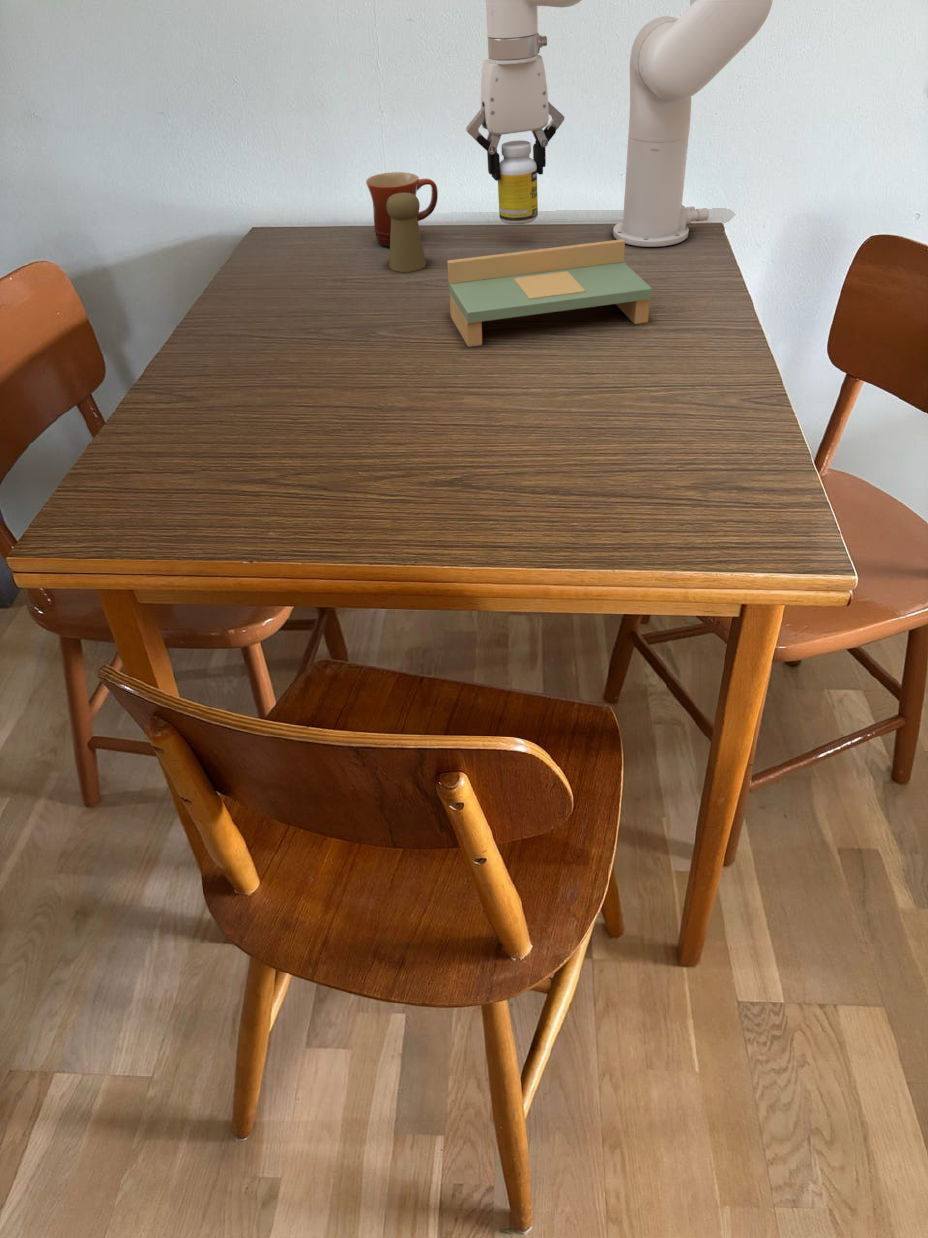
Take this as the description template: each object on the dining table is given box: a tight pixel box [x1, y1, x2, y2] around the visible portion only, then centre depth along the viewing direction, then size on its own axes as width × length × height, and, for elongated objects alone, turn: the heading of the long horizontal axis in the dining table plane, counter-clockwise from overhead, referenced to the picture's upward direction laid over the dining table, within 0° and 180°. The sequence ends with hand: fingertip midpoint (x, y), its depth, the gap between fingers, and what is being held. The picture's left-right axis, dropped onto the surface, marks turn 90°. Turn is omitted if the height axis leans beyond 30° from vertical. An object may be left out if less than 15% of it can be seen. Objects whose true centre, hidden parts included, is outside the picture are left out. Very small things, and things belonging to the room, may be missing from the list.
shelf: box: [446, 239, 653, 348], centre depth 134 cm, size 26×12×8 cm, turn 103°
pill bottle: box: [497, 140, 539, 225], centre depth 156 cm, size 6×6×12 cm
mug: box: [365, 171, 439, 249], centre depth 162 cm, size 12×9×10 cm
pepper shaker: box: [386, 193, 427, 273], centre depth 153 cm, size 6×6×11 cm
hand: (517, 174), depth 155 cm, fingers closed on pill bottle, 6 cm apart
